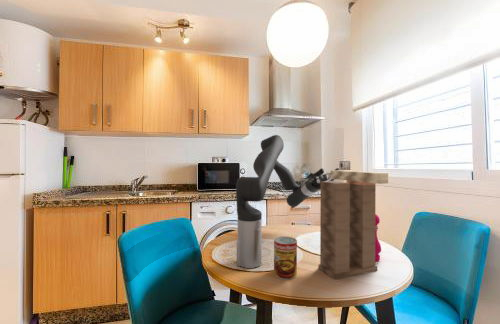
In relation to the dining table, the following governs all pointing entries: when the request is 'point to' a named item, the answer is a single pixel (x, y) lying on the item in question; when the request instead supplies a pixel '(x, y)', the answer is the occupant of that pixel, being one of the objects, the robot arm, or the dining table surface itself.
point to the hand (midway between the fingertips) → (331, 170)
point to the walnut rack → (347, 228)
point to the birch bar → (360, 176)
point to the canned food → (285, 257)
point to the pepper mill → (377, 244)
